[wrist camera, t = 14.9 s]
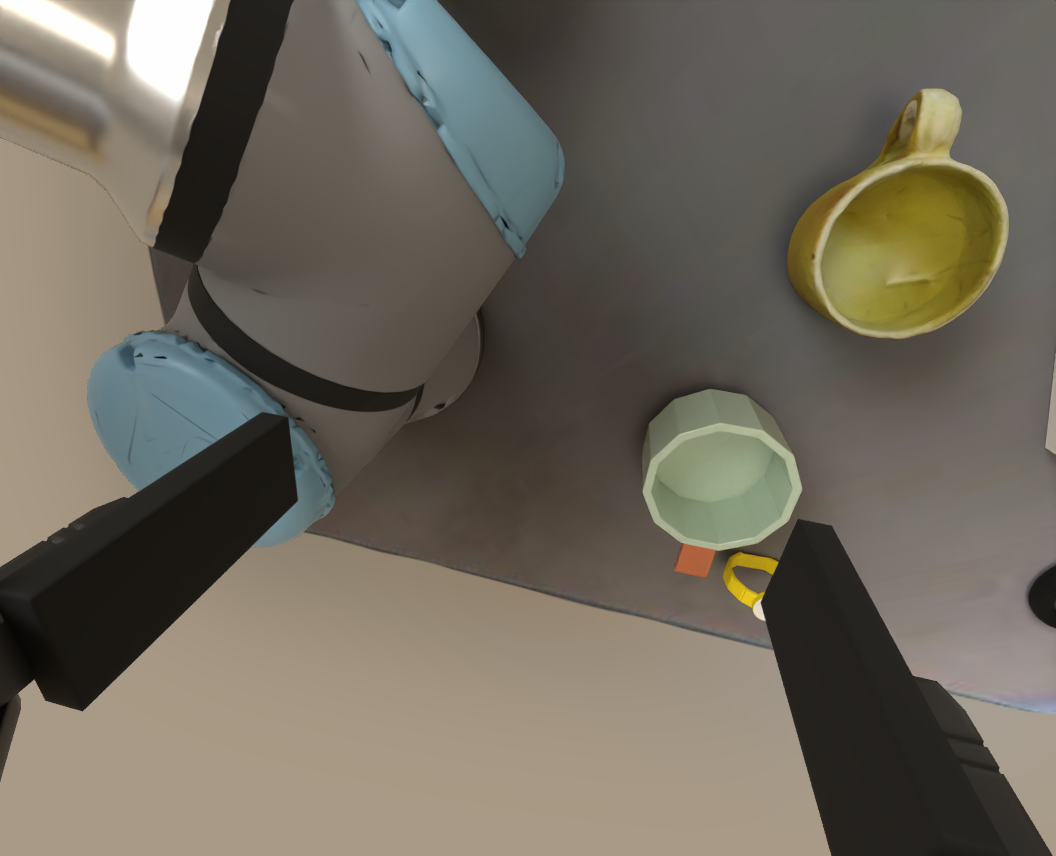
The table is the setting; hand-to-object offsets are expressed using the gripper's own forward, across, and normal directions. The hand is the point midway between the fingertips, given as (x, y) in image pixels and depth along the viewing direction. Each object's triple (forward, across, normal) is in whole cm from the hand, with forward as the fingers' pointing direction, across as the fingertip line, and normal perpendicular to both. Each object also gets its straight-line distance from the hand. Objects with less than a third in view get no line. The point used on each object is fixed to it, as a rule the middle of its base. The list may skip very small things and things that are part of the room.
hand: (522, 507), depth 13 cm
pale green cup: (+27, +11, -12) cm, 32 cm away
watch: (+29, +18, -22) cm, 41 cm away
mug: (+29, +16, +7) cm, 34 cm away
